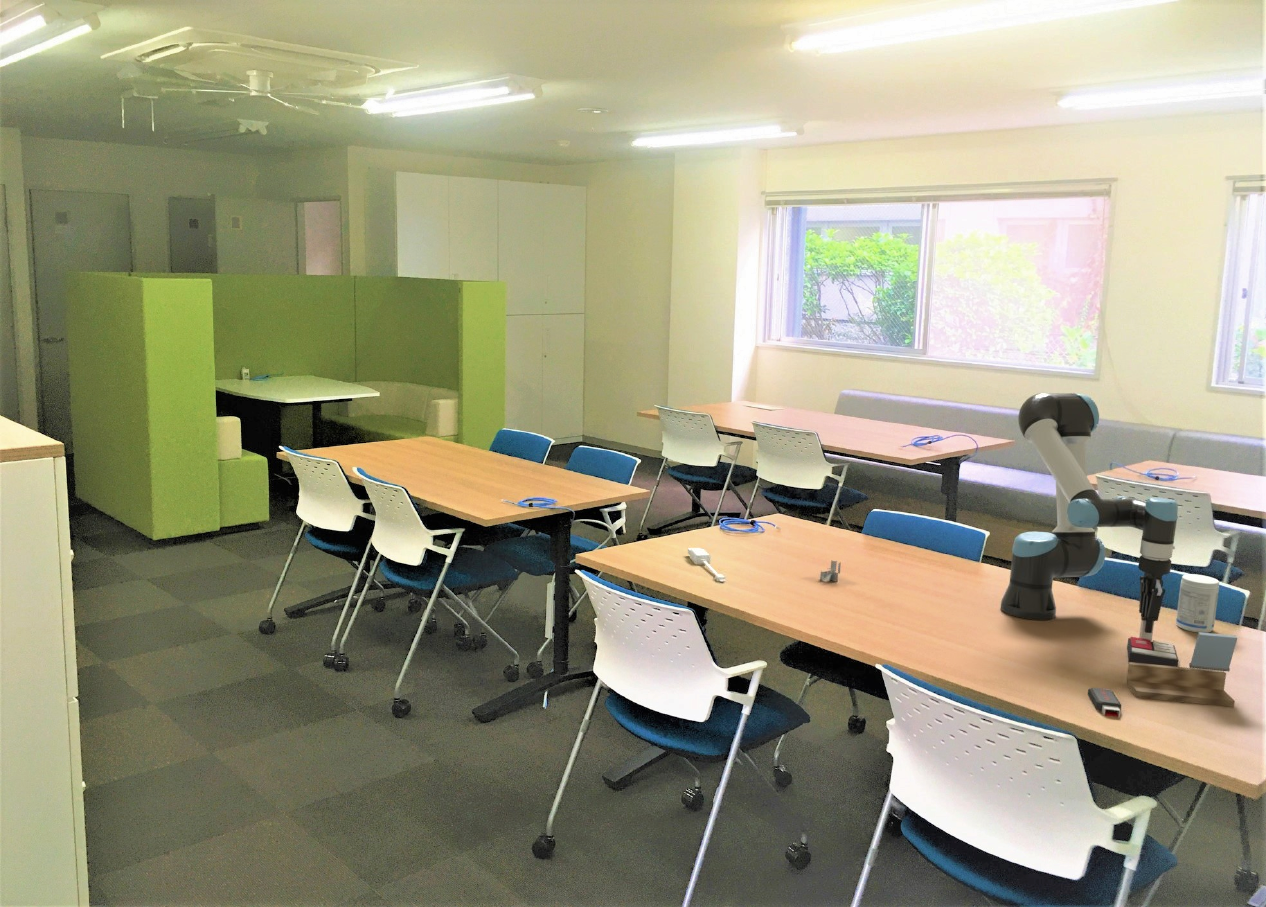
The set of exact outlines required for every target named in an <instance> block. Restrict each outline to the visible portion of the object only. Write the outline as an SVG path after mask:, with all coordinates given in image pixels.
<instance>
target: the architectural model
mask: <svg viewBox="0 0 1266 907" xmlns="http://www.w3.org/2000/svg"><path fill="white" fill-rule="evenodd" d="M837 562H838V561H837V560H836V561H834V560H832V559H831V561H830V568H828V569H827V570H826V571H822V570H821V571H820V574H819V575H820V576H819V578H820V579H819V581H822V582H825V583H826V582H830V581H834V582H836V583H837V582H838V580H839V574H841V564H842V563H841V561H840V562H838V563H837ZM837 564H838V566H837Z"/></svg>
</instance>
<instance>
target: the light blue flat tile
mask: <svg viewBox="0 0 1266 907" xmlns="http://www.w3.org/2000/svg"><path fill="white" fill-rule="evenodd" d="M1197 633H1198V632H1197ZM1237 641H1238V636H1237V635H1232V634H1222V633H1210V632H1208V633H1202V632H1199V633H1198V634H1197V638H1196V642H1195V644H1194V649H1193V652H1192V653H1193V654H1192V655H1191V656H1192V657H1191V661H1190V662H1189V664H1188V666H1189V667H1188V668H1195V669H1206V670H1216V671H1224V672H1230V670H1231V668H1230V665H1231V662H1232V659H1233V655H1234V652H1235V649H1236V644H1237Z"/></svg>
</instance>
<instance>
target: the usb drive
mask: <svg viewBox="0 0 1266 907" xmlns="http://www.w3.org/2000/svg"><path fill="white" fill-rule="evenodd" d="M1087 696H1088V698H1089V700H1090V701H1091V703H1092V706H1094V708H1095V710H1096V711H1098V712H1100V713H1101V714H1102V716H1104V717H1105V716H1106V717H1113V718H1115V717H1116V718H1120V717H1121V712H1122V703H1121V702H1120V701H1119V699H1118V697H1117V696H1116V694H1115V693H1114V691H1113V690H1111V689H1109V688H1099V687H1090V688H1089V689H1088V690H1087Z"/></svg>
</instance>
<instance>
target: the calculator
mask: <svg viewBox="0 0 1266 907" xmlns="http://www.w3.org/2000/svg"><path fill="white" fill-rule="evenodd" d="M1126 650H1127V664H1128V665H1129V662H1133V663H1144V664H1154V665H1164V666H1175V667H1179V656H1178V654H1177V650H1176V647H1175V645H1174V644H1173V643H1172V642H1166V641H1160V640H1153V639H1152V642H1151V641H1150V640H1149V639H1142V638H1139V637H1136V636H1135V637H1134V636H1130V637H1128V639H1127V645H1126Z"/></svg>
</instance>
